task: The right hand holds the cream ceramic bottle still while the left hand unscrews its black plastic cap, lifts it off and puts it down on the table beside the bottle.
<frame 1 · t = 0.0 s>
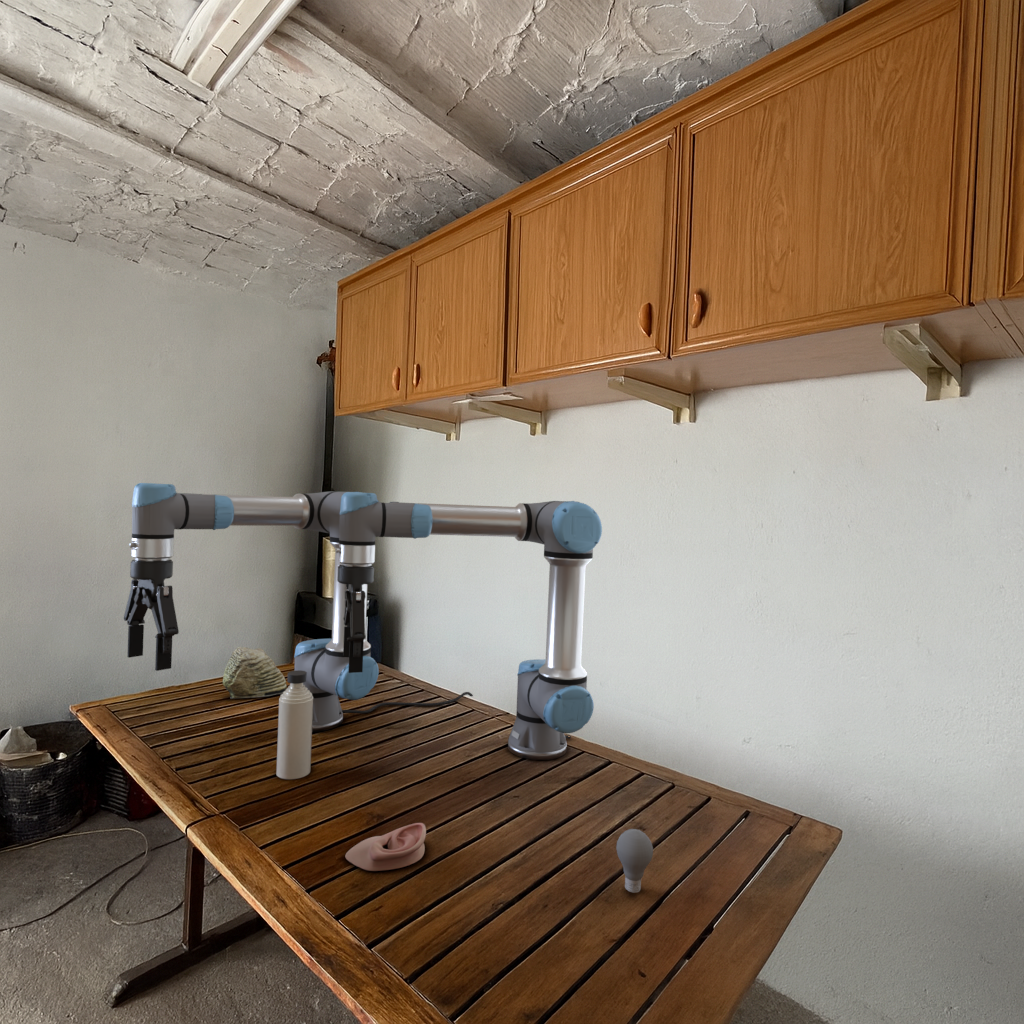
left hand: (148, 662, 129), 28 cm above the table, tool pointing down, fingers open, 13 cm apart
right hand: (352, 663, 135), 28 cm above the table, tool pointing down, fingers open, 13 cm apart
fossil: (254, 694, 198), on the table
cap: (297, 674, 144), point 23 cm above the table, screwed on, not yet turned
anatomical model: (386, 854, 113), on the table
light bulb: (632, 891, 106), on the table
bottle: (293, 772, 145), on the table
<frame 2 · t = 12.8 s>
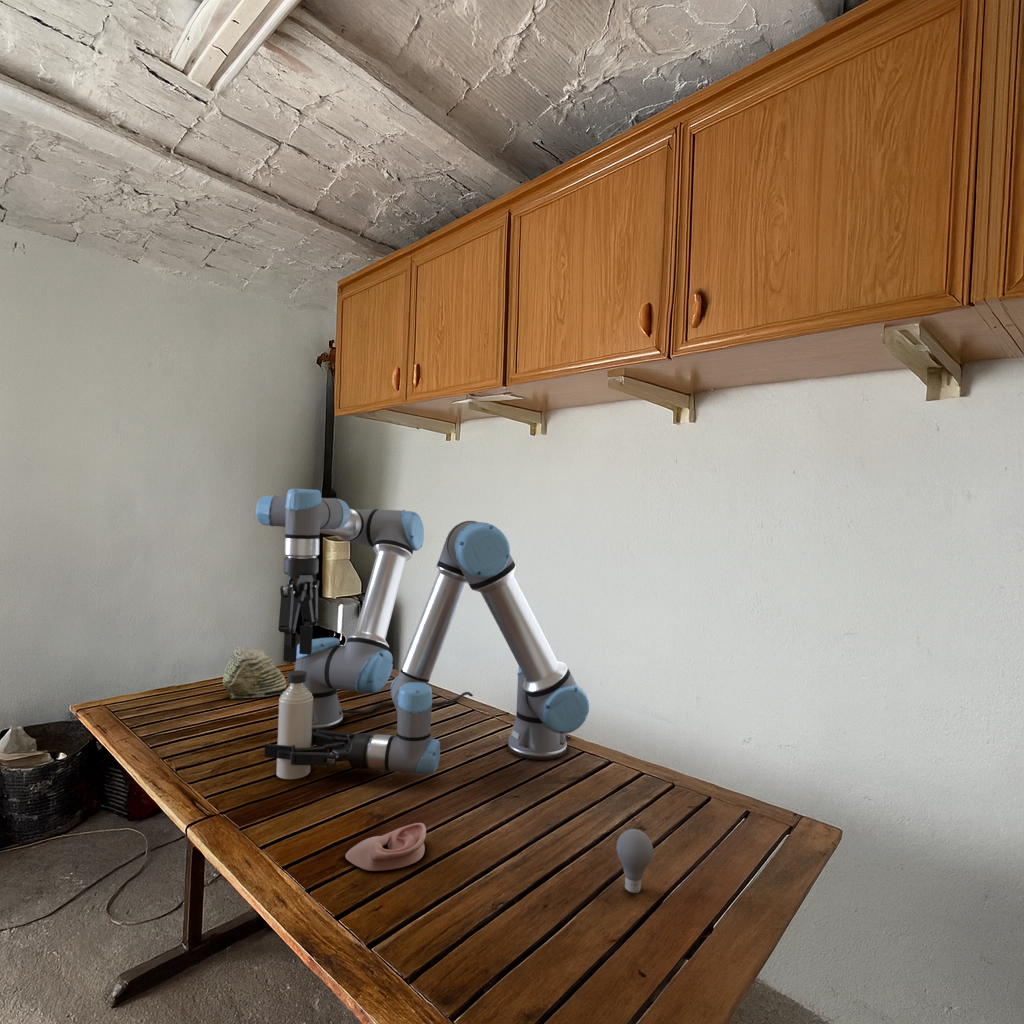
left hand: (297, 657, 144), 26 cm above the table, tool pointing down, fingers open, 6 cm apart
right hand: (274, 743, 145), 6 cm above the table, tool horizontal, fingers closed on bottle, 7 cm apart
bottle: (293, 772, 145), on the table, touching right hand
everything else where it was.
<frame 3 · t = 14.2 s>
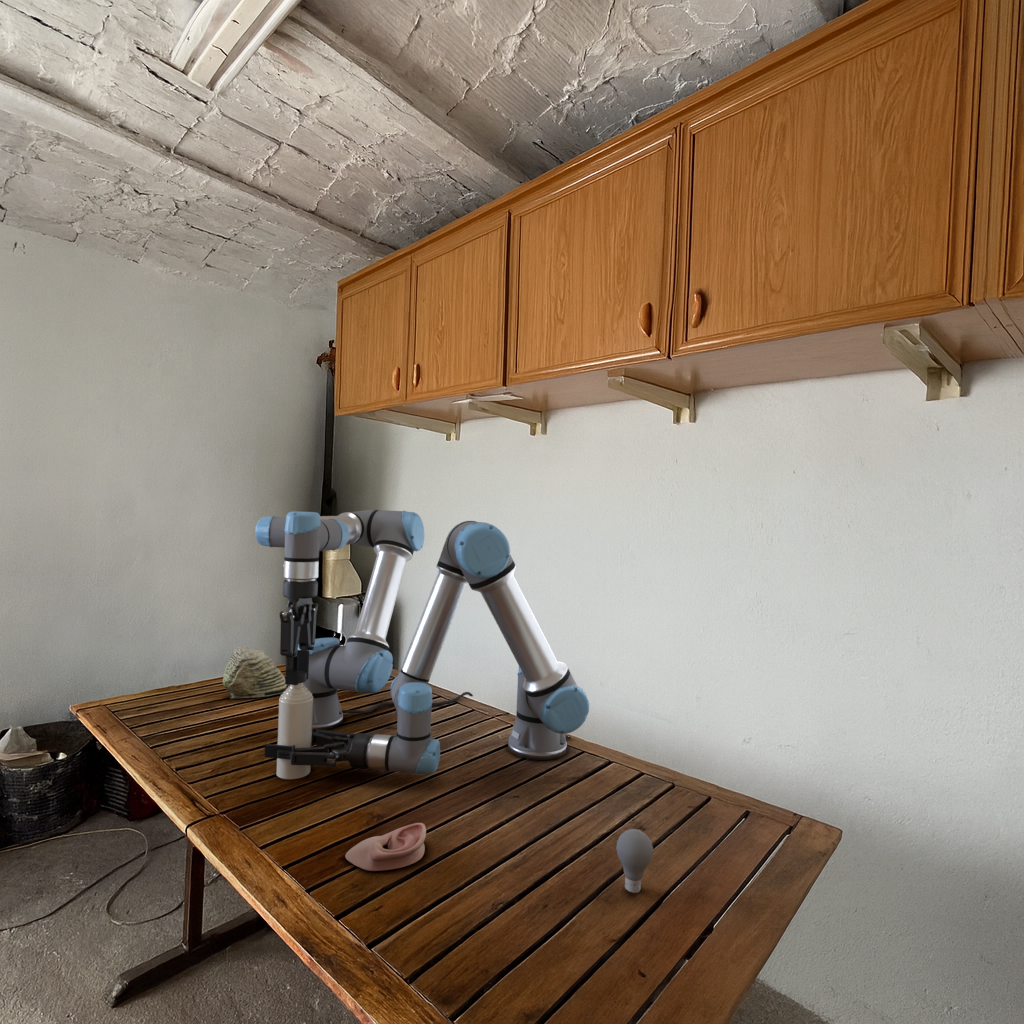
left hand: (296, 681, 145), 21 cm above the table, tool pointing down, fingers closed on cap, 4 cm apart
right hand: (274, 743, 145), 6 cm above the table, tool horizontal, fingers closed on bottle, 7 cm apart
cap: (297, 674, 144), point 23 cm above the table, screwed on, not yet turned, touching left hand
bottle: (293, 772, 145), on the table, touching right hand
everything else where it was.
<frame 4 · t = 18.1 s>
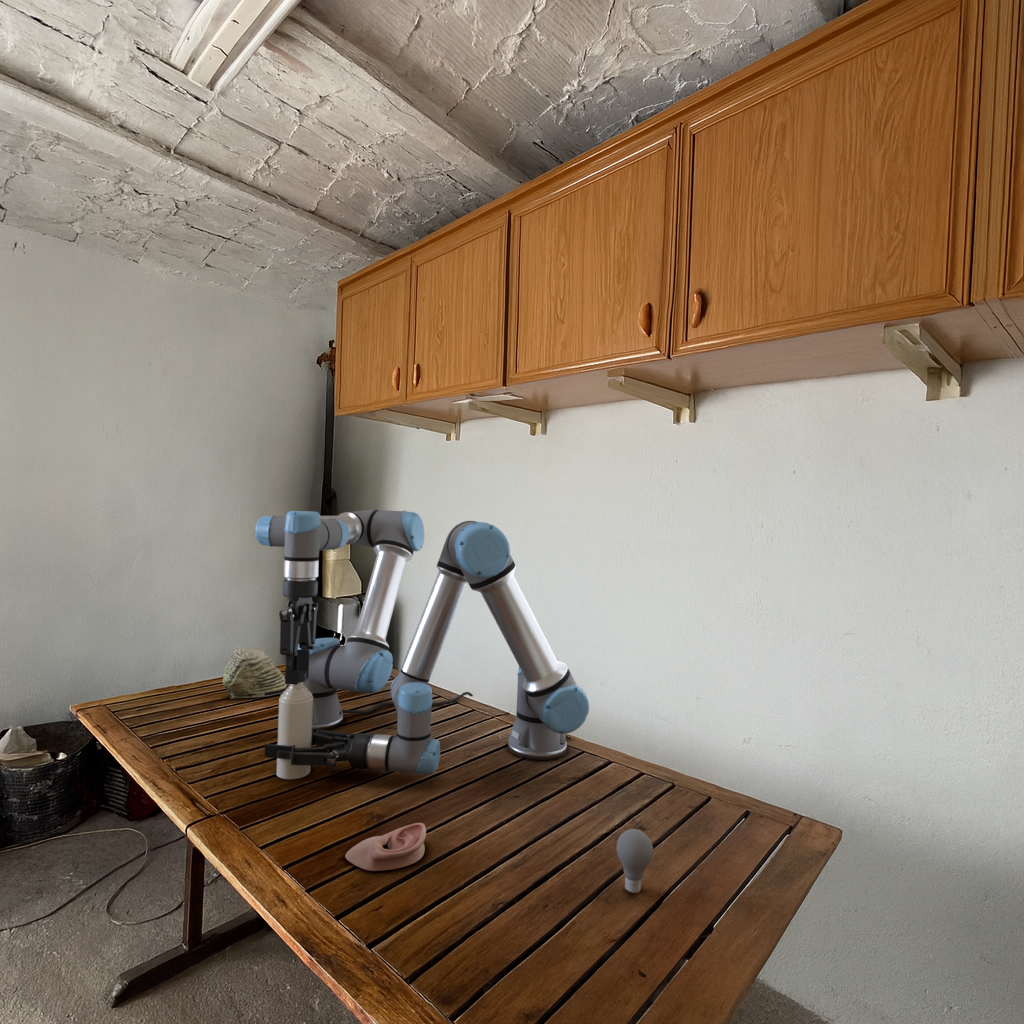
left hand: (296, 680, 145), 21 cm above the table, tool pointing down, fingers closed on cap, 4 cm apart
right hand: (274, 743, 145), 6 cm above the table, tool horizontal, fingers closed on bottle, 7 cm apart
cap: (297, 673, 144), point 23 cm above the table, turned 127° so far, risen 0.1 cm, still on its thread, touching left hand
bottle: (293, 772, 145), on the table, touching right hand
everything else where it was.
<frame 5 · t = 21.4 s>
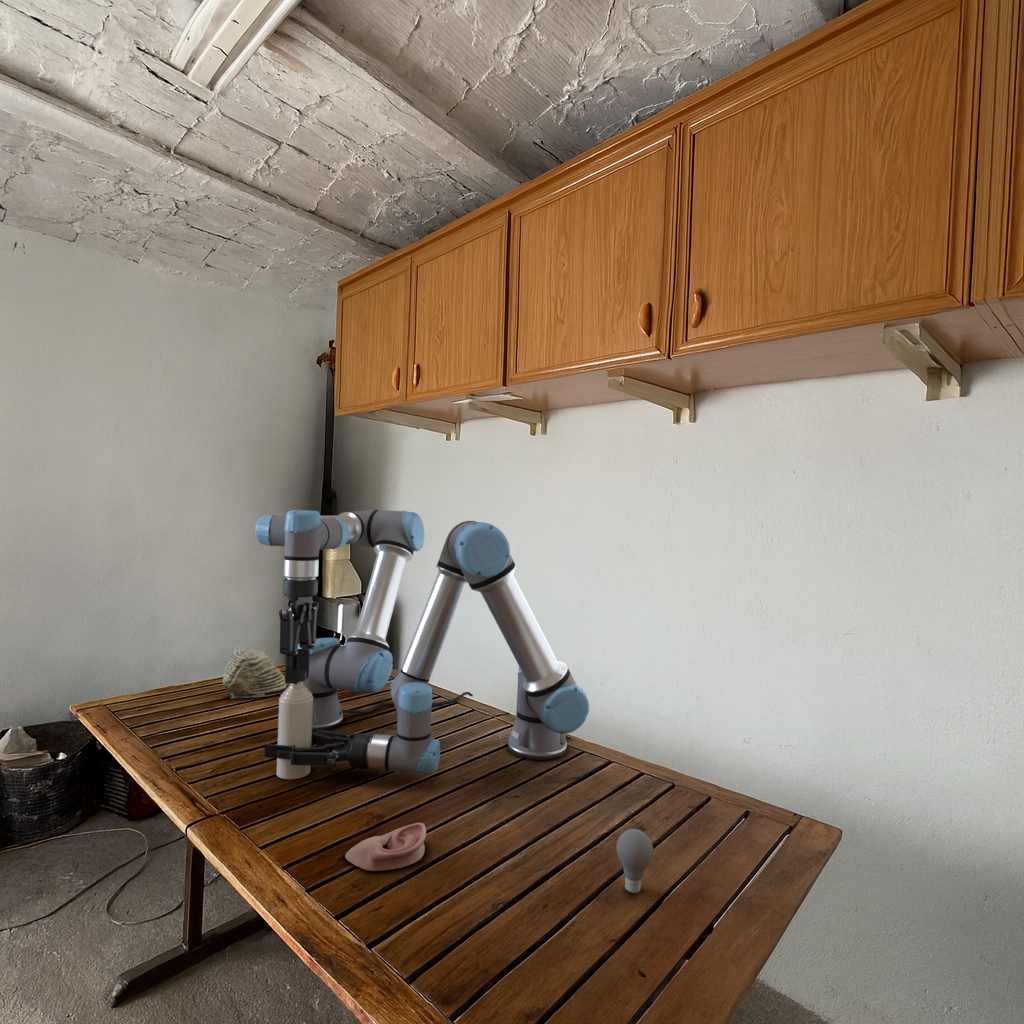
left hand: (296, 679, 145), 21 cm above the table, tool pointing down, fingers closed on cap, 4 cm apart
right hand: (274, 743, 145), 6 cm above the table, tool horizontal, fingers closed on bottle, 7 cm apart
cap: (297, 672, 144), point 23 cm above the table, turned 255° so far, risen 0.3 cm, still on its thread, touching left hand
bottle: (293, 772, 145), on the table, touching right hand
everything else where it was.
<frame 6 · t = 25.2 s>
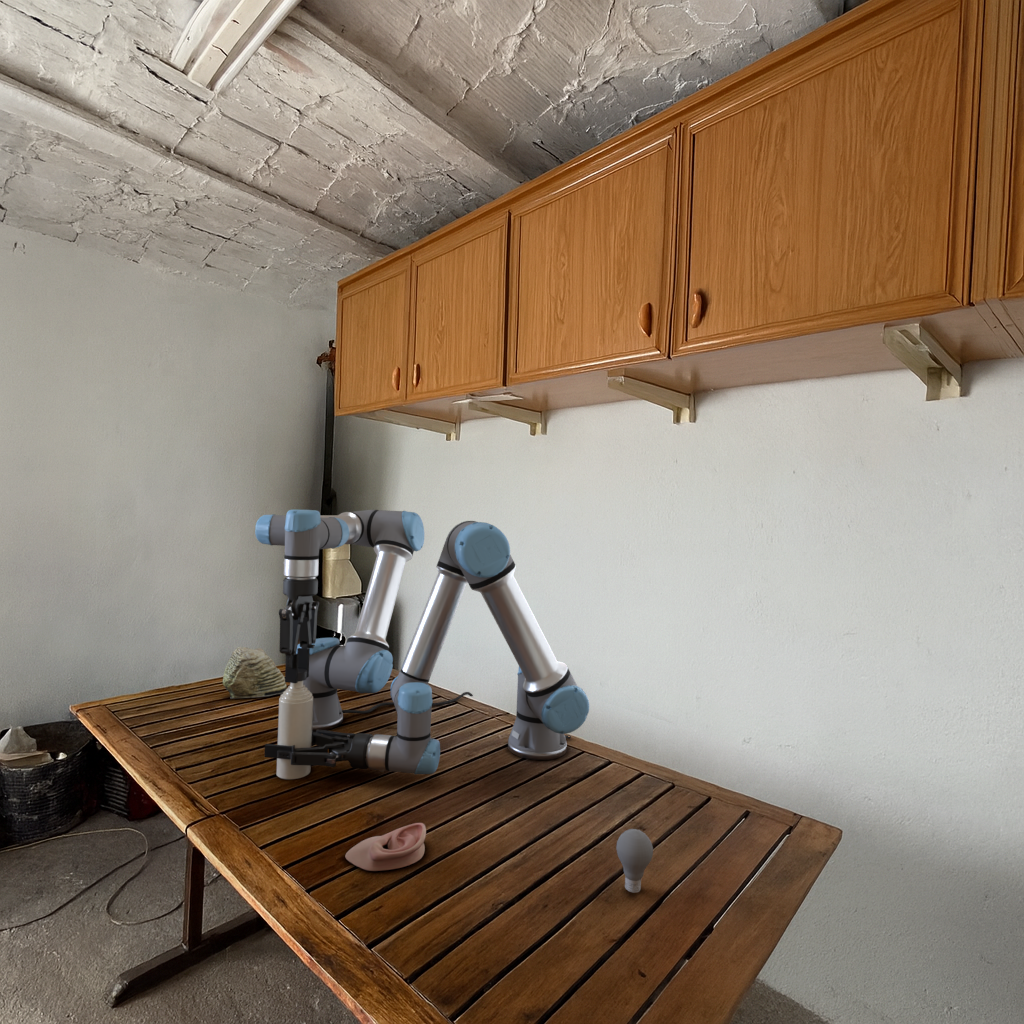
left hand: (297, 679, 145), 21 cm above the table, tool pointing down, fingers closed on cap, 4 cm apart
right hand: (274, 743, 145), 6 cm above the table, tool horizontal, fingers closed on bottle, 7 cm apart
cap: (297, 672, 144), point 23 cm above the table, turned 382° so far, risen 0.5 cm, still on its thread, touching left hand
bottle: (293, 772, 145), on the table, touching right hand
everything else where it was.
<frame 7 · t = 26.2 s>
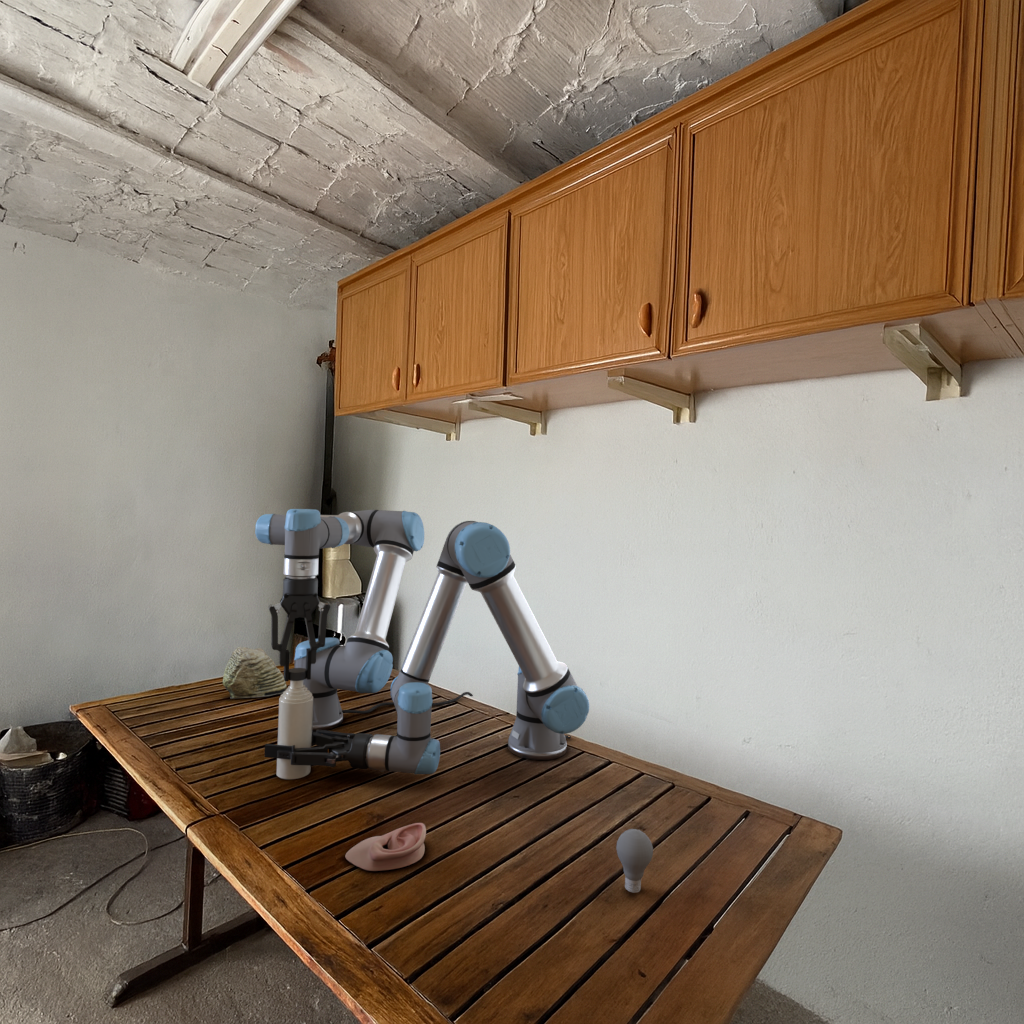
left hand: (297, 678, 145), 22 cm above the table, tool pointing down, fingers closed on cap, 4 cm apart
right hand: (274, 743, 145), 6 cm above the table, tool horizontal, fingers closed on bottle, 7 cm apart
cap: (297, 671, 145), point 23 cm above the table, off its thread, touching left hand
bottle: (293, 772, 145), on the table, touching right hand
everything else where it was.
when the left hand's fingers open (2 cm above the table, at t = 31.9 s): cap drops 2 cm, point 2 cm above the table.
when the right hand's fingers open (6 cm above the table, at t = 33.2 s): bottle stays where it is, on the table.
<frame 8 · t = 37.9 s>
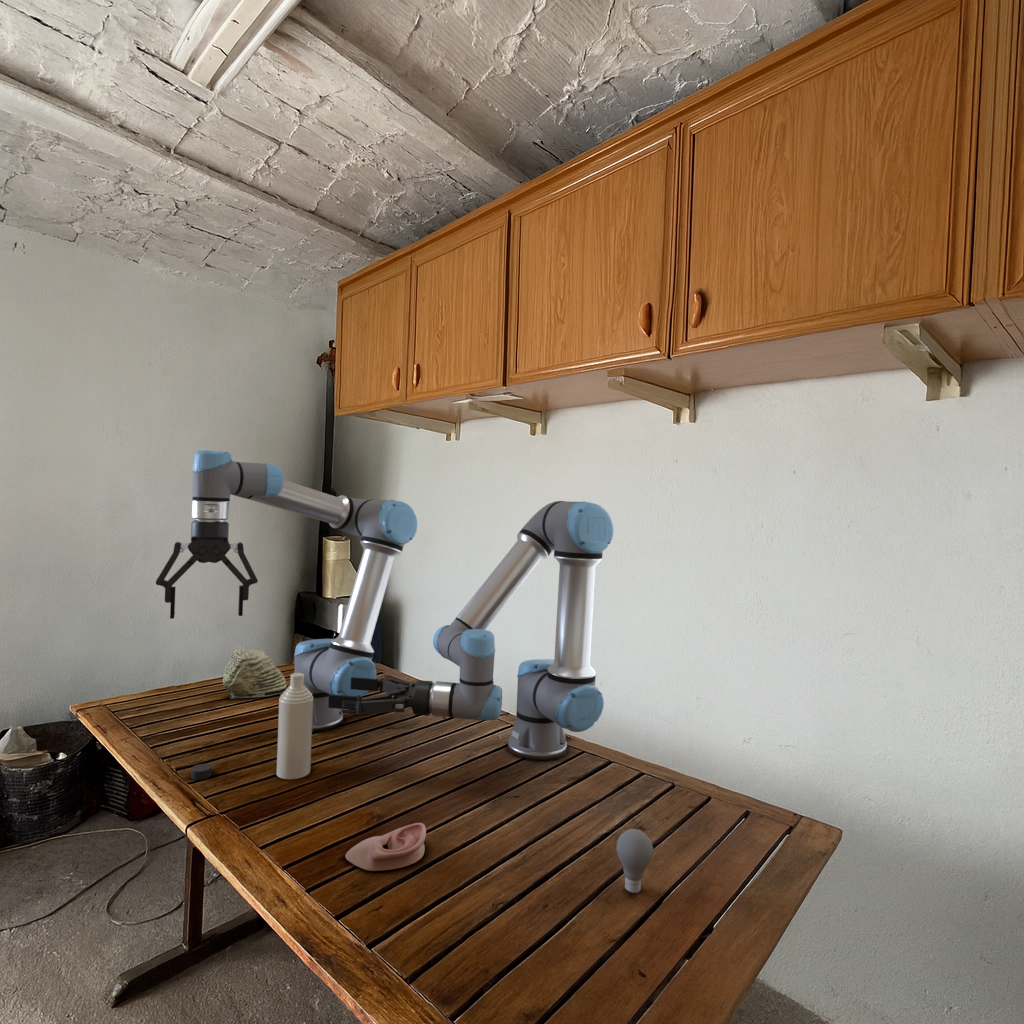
left hand: (207, 616, 140), 36 cm above the table, tool pointing down, fingers open, 13 cm apart
right hand: (340, 691, 144), 19 cm above the table, tool horizontal, fingers open, 13 cm apart
cap: (201, 768, 141), point 2 cm above the table, off its thread
bottle: (293, 772, 145), on the table
everything else where it was.
at the end: cap came off its thread; cap point 1.6 cm above the table; the left hand is holding nothing; the right hand is holding nothing; bottle tilted 0°; bottle moved 0.0 cm from its start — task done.
